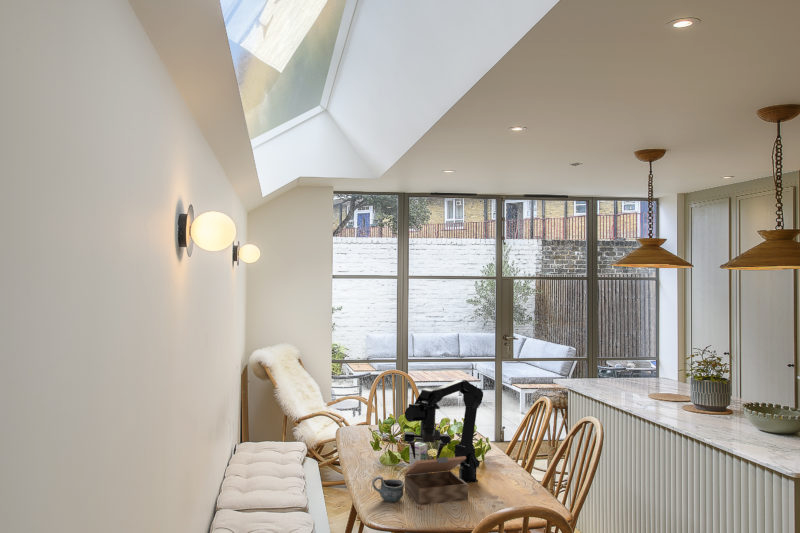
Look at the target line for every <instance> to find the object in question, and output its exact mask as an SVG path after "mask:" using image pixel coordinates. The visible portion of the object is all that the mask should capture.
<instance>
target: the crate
mask: <svg viewBox="0 0 800 533" xmlns="http://www.w3.org/2000/svg"><path fill="white" fill-rule="evenodd" d="M404 491H405V492H406V493H407V494H408V495H409V497H410V498H412V500H414V501H415V502H416V504H418V505H419V506H427V505H435V504H436V503H437V504H446V503H453V502H461V501H469V484H468V482H467V483H466V482H464V481H463V480H462V479H460V478H459V475H457V474H455V473H454V472H452V470H451V471H442V472H432V473H425V474H415V475H404ZM445 502H446V503H445Z"/></svg>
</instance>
